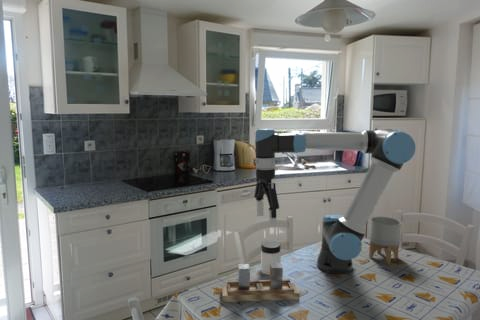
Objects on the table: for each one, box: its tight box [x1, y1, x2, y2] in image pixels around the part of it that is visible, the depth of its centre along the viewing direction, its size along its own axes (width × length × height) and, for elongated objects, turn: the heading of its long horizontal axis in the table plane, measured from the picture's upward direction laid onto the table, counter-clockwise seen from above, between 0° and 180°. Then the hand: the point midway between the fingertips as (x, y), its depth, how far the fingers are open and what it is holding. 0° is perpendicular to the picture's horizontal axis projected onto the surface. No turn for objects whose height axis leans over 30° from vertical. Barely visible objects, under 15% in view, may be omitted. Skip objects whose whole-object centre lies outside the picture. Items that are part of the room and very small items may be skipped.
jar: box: [260, 240, 282, 276], centre depth 156 cm, size 9×8×12 cm
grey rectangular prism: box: [237, 263, 251, 290], centre depth 135 cm, size 4×4×9 cm
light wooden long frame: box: [221, 263, 301, 303], centre depth 136 cm, size 28×8×12 cm, turn 94°
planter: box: [368, 216, 402, 264], centre depth 170 cm, size 13×13×18 cm
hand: (266, 220), depth 147 cm, fingers open, 13 cm apart
